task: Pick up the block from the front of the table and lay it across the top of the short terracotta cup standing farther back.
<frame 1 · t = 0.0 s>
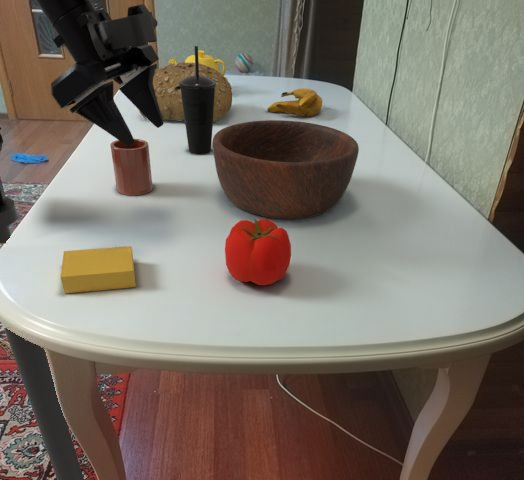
hand: (147, 135, 69), 15 cm above the table, tool tilted 35°, fingers open, 9 cm apart
block: (100, 276, 69), on the table
teapot: (199, 92, 155), on the table
wooden bowl: (281, 198, 93), on the table
drinking cup: (200, 152, 111), on the table
tomato: (257, 279, 70), on the table
bread: (186, 114, 135), on the table
cup: (134, 188, 93), on the table
banana: (294, 112, 141), on the table
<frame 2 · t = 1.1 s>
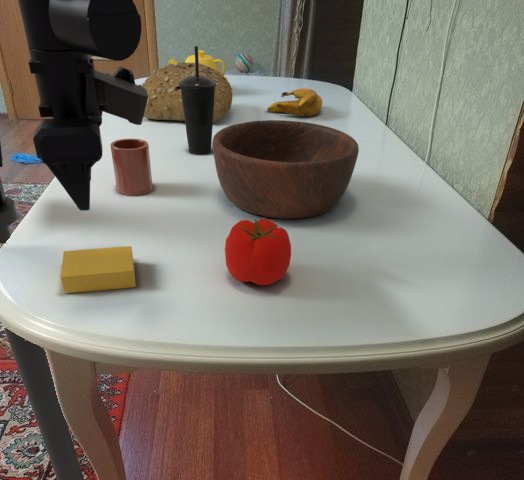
hand: (85, 194, 61), 11 cm above the table, tool pointing down, fingers open, 9 cm apart
nothing on the table moved.
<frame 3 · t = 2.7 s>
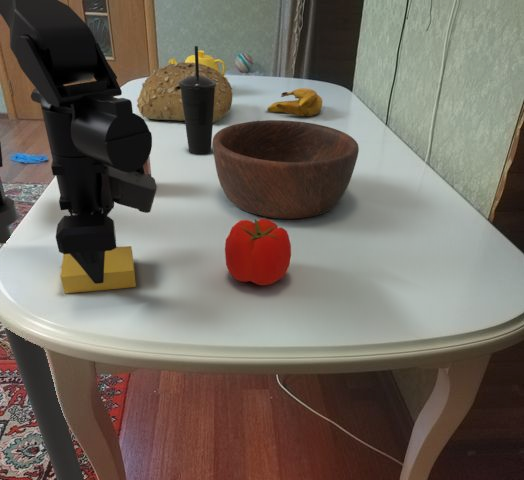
hand: (99, 268, 68), 1 cm above the table, tool pointing down, fingers closed on block, 7 cm apart
block: (100, 276, 69), on the table, touching gripper
everything else where it was.
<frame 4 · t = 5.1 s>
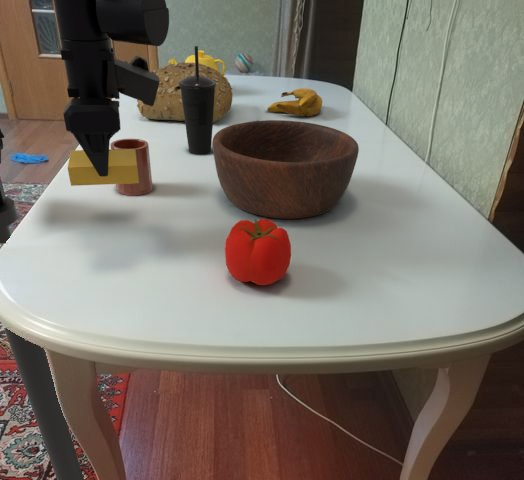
hand: (104, 166, 71), 11 cm above the table, tool pointing down, fingers closed on block, 7 cm apart
block: (105, 175, 72), point 10 cm above the table, touching gripper
everything else where it was.
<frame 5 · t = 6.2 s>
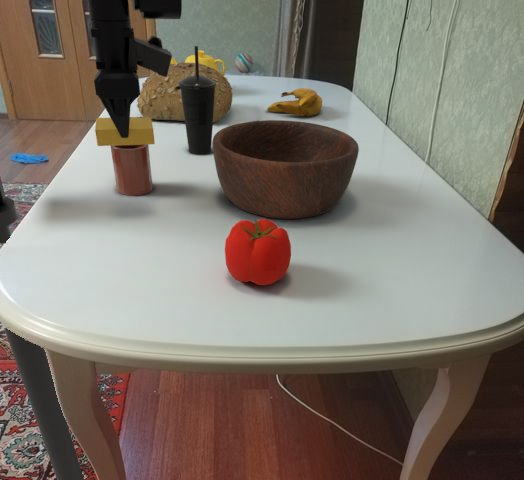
hand: (124, 131, 84), 11 cm above the table, tool pointing down, fingers closed on block, 7 cm apart
block: (126, 138, 84), point 10 cm above the table, touching gripper
everything else where it was.
when the fingers open (9 cm above the table, at t = 7.5 s): block stays where it is, resting on cup.
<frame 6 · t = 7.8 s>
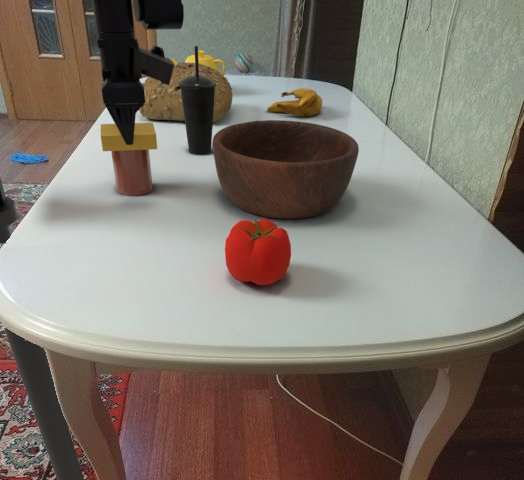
hand: (128, 136, 87), 9 cm above the table, tool pointing down, fingers open, 9 cm apart
block: (129, 144, 88), point 8 cm above the table, touching cup
cup: (134, 188, 93), on the table, touching block
everything else where it was.
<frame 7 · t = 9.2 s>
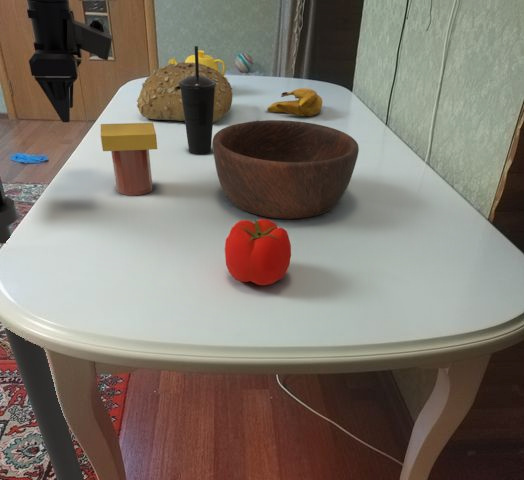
hand: (68, 114, 84), 13 cm above the table, tool pointing down, fingers open, 9 cm apart
nothing on the table moved.
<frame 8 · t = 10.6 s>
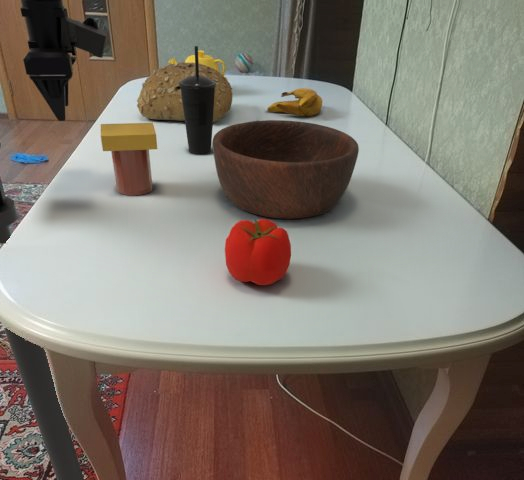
hand: (63, 113, 84), 13 cm above the table, tool pointing down, fingers open, 9 cm apart
nothing on the table moved.
at the end: block 0.0 cm off-centre on the cup, point 8.0 cm above the cup's base; block tilted 0°; cup tilted 0° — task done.
